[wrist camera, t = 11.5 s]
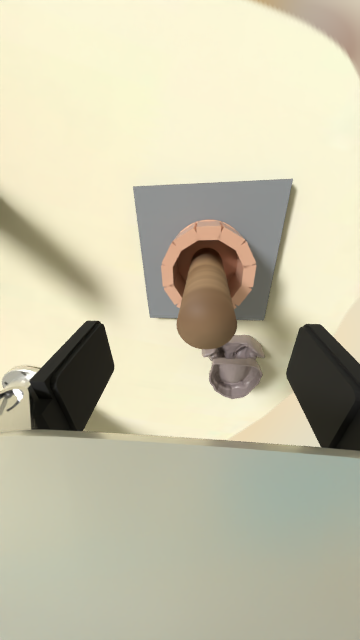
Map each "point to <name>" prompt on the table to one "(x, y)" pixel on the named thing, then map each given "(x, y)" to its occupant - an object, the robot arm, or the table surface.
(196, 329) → the wooden capsule dowel
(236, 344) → the dental mold
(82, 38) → the table surface
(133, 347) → the table surface
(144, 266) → the board
